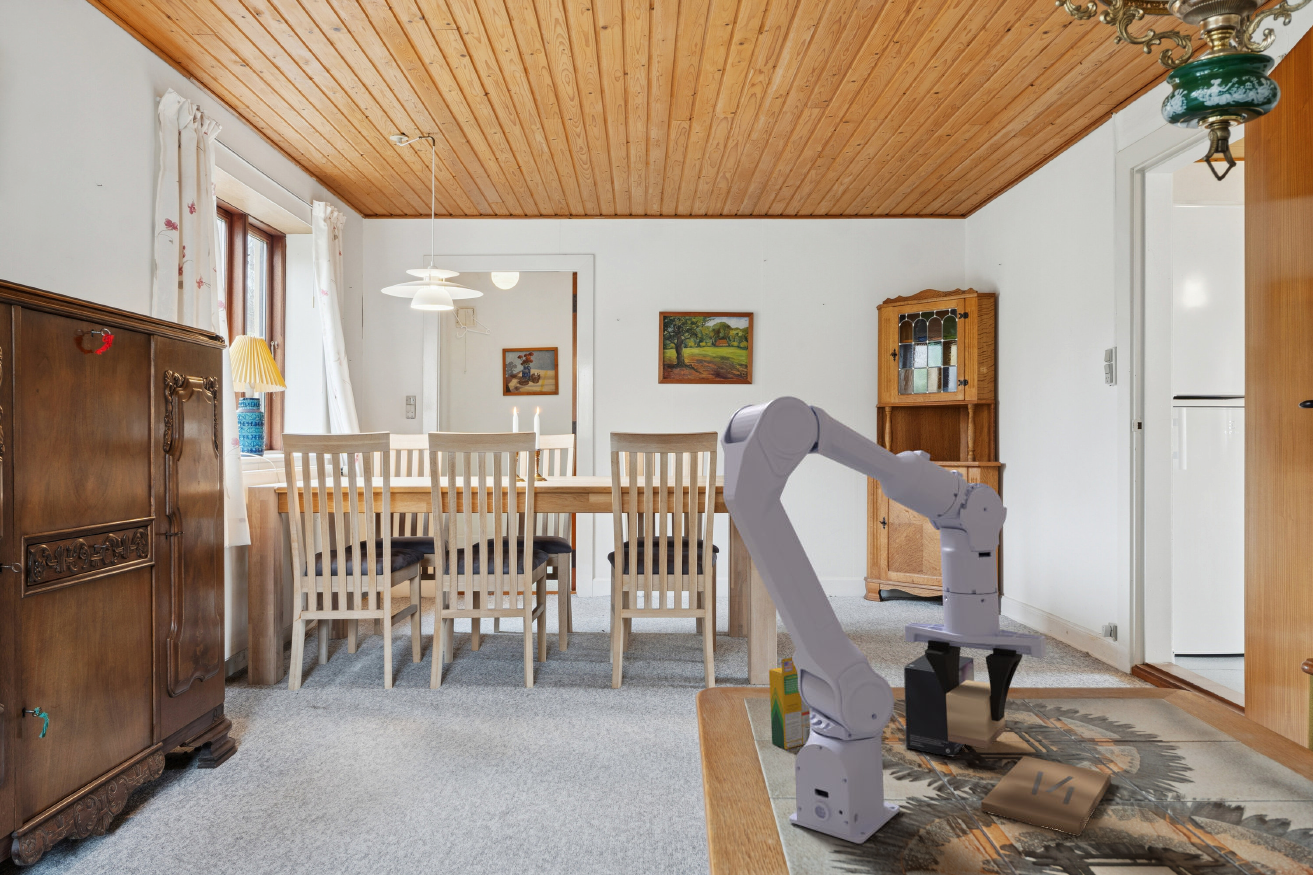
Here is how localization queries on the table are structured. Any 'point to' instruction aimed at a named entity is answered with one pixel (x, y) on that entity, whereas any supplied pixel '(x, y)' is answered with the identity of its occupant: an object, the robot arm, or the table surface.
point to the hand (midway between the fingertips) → (975, 714)
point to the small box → (929, 706)
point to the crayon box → (787, 707)
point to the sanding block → (972, 715)
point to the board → (1048, 794)
